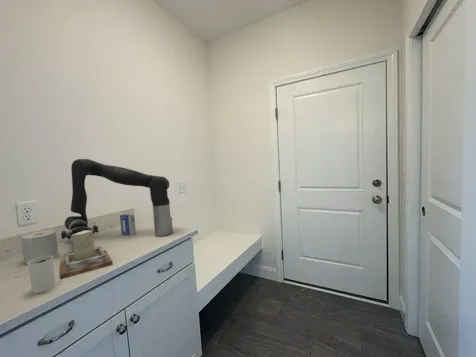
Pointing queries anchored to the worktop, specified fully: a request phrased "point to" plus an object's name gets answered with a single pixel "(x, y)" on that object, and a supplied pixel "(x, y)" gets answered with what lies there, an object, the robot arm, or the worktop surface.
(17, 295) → the worktop surface
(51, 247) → the toilet paper roll
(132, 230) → the walkman
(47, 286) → the white coffee cup
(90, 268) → the socket board
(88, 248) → the skincare box
